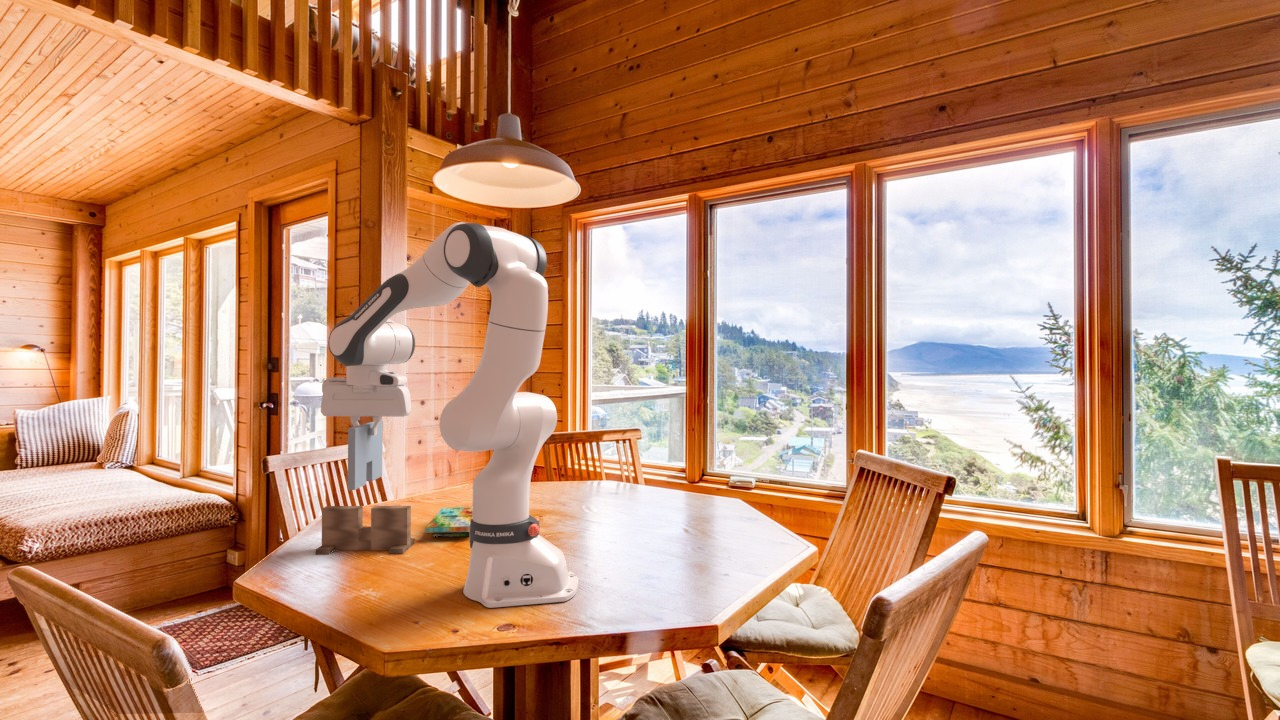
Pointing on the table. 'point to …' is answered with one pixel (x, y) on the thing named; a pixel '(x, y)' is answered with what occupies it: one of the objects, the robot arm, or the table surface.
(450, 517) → the puzzle game
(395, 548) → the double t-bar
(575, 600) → the table surface
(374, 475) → the grey notched slab
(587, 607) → the table surface
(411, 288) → the robot arm
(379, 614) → the table surface
